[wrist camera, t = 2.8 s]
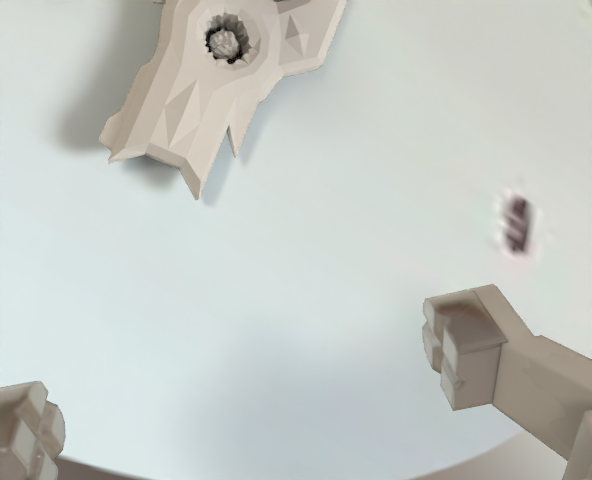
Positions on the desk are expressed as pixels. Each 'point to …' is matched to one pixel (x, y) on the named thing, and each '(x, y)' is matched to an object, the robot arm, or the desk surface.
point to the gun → (215, 77)
